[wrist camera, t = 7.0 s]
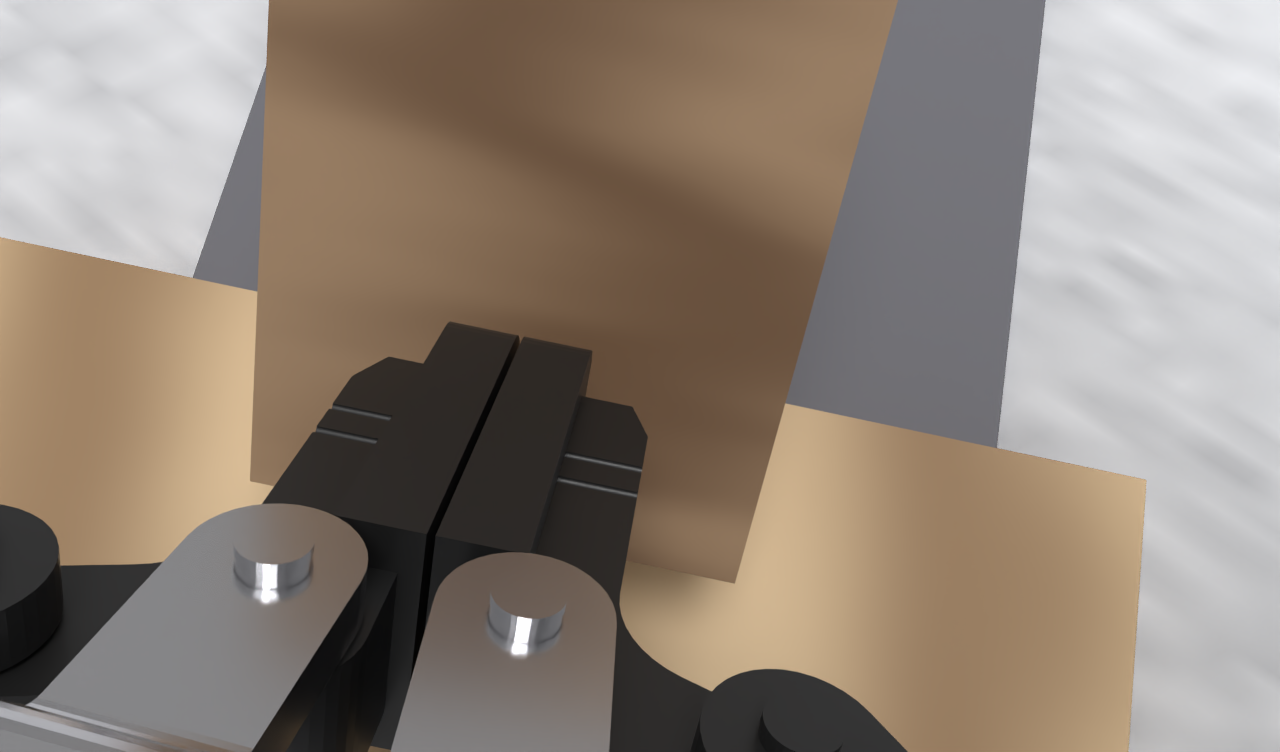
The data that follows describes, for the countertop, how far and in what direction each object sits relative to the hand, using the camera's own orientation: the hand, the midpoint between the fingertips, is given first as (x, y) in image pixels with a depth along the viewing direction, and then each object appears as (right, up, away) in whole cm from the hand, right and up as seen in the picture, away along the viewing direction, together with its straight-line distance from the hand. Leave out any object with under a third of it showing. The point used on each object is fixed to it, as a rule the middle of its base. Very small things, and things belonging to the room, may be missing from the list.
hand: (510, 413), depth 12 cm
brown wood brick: (0, -1, +3) cm, 3 cm away
